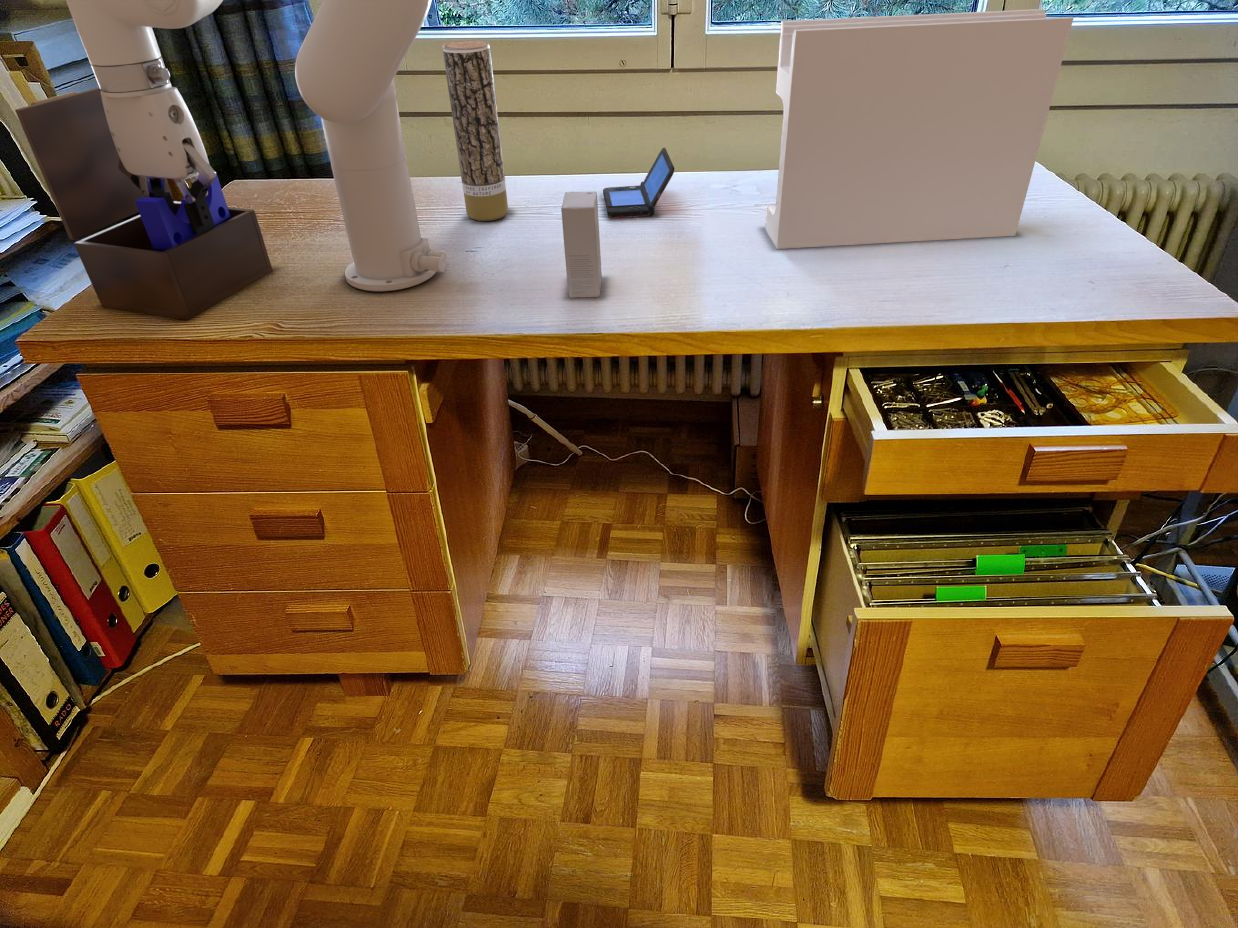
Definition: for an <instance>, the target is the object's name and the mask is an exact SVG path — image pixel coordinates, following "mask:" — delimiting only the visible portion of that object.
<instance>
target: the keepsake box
mask: <svg viewBox="0 0 1238 928" xmlns="http://www.w3.org/2000/svg"><path fill="white" fill-rule="evenodd" d="M173 202H174V205H175V207H176V210H177V212H178V210H179V207H180V204H181V201H177V200H173ZM227 207H228V211H229V214H230V217H229V218H227V219H225V220H224V221H222V222H220V223H219V224H217V225H215V226H214V227H213V228H211V229H209V230H207V231H205V232H202V233H200V234H198V235H196V236H194V237H192V238H190V239H188V240H186V241H184V242H182V243H180V244H178V245H176V246H174V247H172V248H169V249H153V247H152V244H151V241H150V239H149V236H148V234H147V231H146V229H145V226H144V224H143V221H142V218H141V216H140V214H138V215H135V216H133V217H131V218H130V219H127V220H124V221H122V222H120V223H116V224H115V225H112V226H110V227H108V228H105V229H103V230H101V231H98V232H96V233H94V234H92V235H89V236H87V237H84V238H82V239H79V240H78V241H75V242H73V245H74V247H75V249H76V251H77V254H78V256H79V258H80V259H79V260H80V261H81V263H82V266H83V267H84V270H85V272H86V274H87V276H88V278H89V281H90V283H91V285H92V288H93V289H94V291H95V294H96V297H97V300H98V301H99V303H100V305H101V307H103V308H110V309H115V310H122V311H127V312H133V313H134V312H135V313H139V314H145V315H152V316H157V317H164V318H170V319H176V320H181V321H189V320H191V319H193V318H194V317H196V316H197V315H199V314H200V313H202V312H204V311H206V310H208V309H210V308H211V307H213V306H214V305H216V304H217V303H219V302H221V301H223V300H224V299H226V298H228V297H230V296H232V295H233V294H235V293H236V292H239V291H240V290H242V289H244V288H245V287H247V286H248V285H250V284H252V283H254V282H255V281H257V280H259V279H261V278H262V277H264V276H266V275H268V274H269V273H271V272H273V270H274V269H273V266H272V264H271V260H270V255H269V253H268V250H267V247H266V243H265V240H264V236H263V233H262V231H261V227H260V224H259V221H258V217H257V214H256V210H255V209H248V208H239V207H232V206H227Z"/></svg>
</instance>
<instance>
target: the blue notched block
mask: <svg viewBox="0 0 1238 928" xmlns="http://www.w3.org/2000/svg"><path fill="white" fill-rule="evenodd" d="M190 184H191V186H192V182H191V181H190ZM205 198H206V201H207V204H208V207H209V210H210V213H211V216H212V218H213V221H214V226H215V225H217V224H219V223H220V222H222V221H224V220H225V219H227V218H229V217H230V214H229V211H228V207H229V206H228V204H227V201H226V198H225V196H224V193H223V189H222V186H221V183H220V180H219V177H218V174H217V173H216V177H215V179H214V180H213V181H212V183H211V184H210V187H209V189H208V196H207V197H205ZM180 202H181V204H180V207H179V210H178V212H177V213H176V214H175V215H174V214H173V213H172V211H171V210H170V209H169V207H168V205H167V203H166V201H165V199H164V198H151V197H142V198H140V199H138V200H136V201H135V203H136V206H137V208H138V211H139V212H138V213H139V215H140V216H141V218H142V221H143V224H144V226H145V229H146V231H147V234H148V236H149V239H150V241H151V244H152V247H153V249H169V248H172V247H174V246H176V245H178V244H180V243H182V242H184V241H186V240H188V239H190V238H192V237H194V236H196V235H198V234H195V233H194V232H193V231H192V228H191V225H190V222H189V219H188V217H187V214H186V211H185V208H184V205H183V204H184V203H186V202H187V201H186V200H185V198H184V197H183V198H182V199H181V201H180ZM206 231H207V230H206ZM204 232H205V231H204Z"/></svg>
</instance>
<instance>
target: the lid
mask: <svg viewBox="0 0 1238 928" xmlns="http://www.w3.org/2000/svg"><path fill="white" fill-rule="evenodd" d="M14 111H15V114H16V116H17V118H18V121H19V123H20V126H21V127H22V130H23V134H24V136H25V137H26V140H27V142H28V144H29V147H30V149H31V151H32V154H33V157H34V158H35V161H36V163H37V165H38V168H39V170H40V172H41V175H42V177H43V180H44V182H45V184H46V187H47V189H48V192H49V194H50V196H51V199H52V201H53V204H54V206H55V208H56V210H57V212H58V215H59V217H60V220H61V222H62V225H63V227H64V230H65V231H66V235H67V237H68V239H69V240H77V239H80V238H81V237H83V236H86V235H88V234H91V233H93V232H95V231H98V230H100V229H103V228H105V227H108V226H109V225H112V224H114V223H117V222H119V221H121V220H124V219H127V218H128V217H129V218H130V217H131V216H133V215H135V214H138V213H139V211H138V208H137V206H136V203H135V201H136V200H138V199H140V198H142V197H143V196H142V194H141V190H140V189H139V188H138V187H137V186H136V185H135V184H134V183H133V182H132V180H131V179H130V178H128V177H127V176H126V175H125V174H124V173H122V172H121V171H120V170H119V168H118V165H119V160H120V157H119V154H118V152H117V149H116V147H115V144H114V141H113V138H112V135H111V132H110V129H109V126H108V122H107V119H106V115H105V111H104V107H103V102H102V97H101V90H100V87H99V86H98V87H95V88H91V89H88V90H87V89H86V90H84V91H80V92H77V91H71V92H67V93H63V94H60V95H59V94H58V95H56V96H52V97H48V98H45V99H40V100H36V101H33V102H31V103H30V105H27V106H24V107H20V108H15V110H14ZM152 180H153V178H152ZM164 185H165V192H170V194H171V196H172V199H173V194H172V190H171V188H170V185H169V182H168V179H164ZM165 192H164V193H165Z"/></svg>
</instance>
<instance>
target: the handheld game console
mask: <svg viewBox="0 0 1238 928" xmlns="http://www.w3.org/2000/svg"><path fill="white" fill-rule="evenodd" d="M674 173H675V166H674V164H673V162H672V160H671V157H670V155H669V153H668V150H667V149H666V147H662V148H661V150H660V151H659V153H658V154H657V156H656V158H655V160H654V162H653V163H652V165H651V167H650V169H649V171H648V172H647V174H646V176H645V178H644V179H643V181H641V182H640V184H639V185H625V186H612V187H611V186H610V187H609V186H608V187H604V188H603V189H602V195H603V200H604V205H605V210H606V214H607V216H608V217H609V218H613V219H617V218H633V217H648V216H650V217H653V216H654V215H655V207H656V205H657V203H658V202H659V200H660V198H661V196H662V195H663V193H664V191H665V189H666V188H667V186H668V184H669V183H670V181H671V179H672V177H673V175H674Z"/></svg>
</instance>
